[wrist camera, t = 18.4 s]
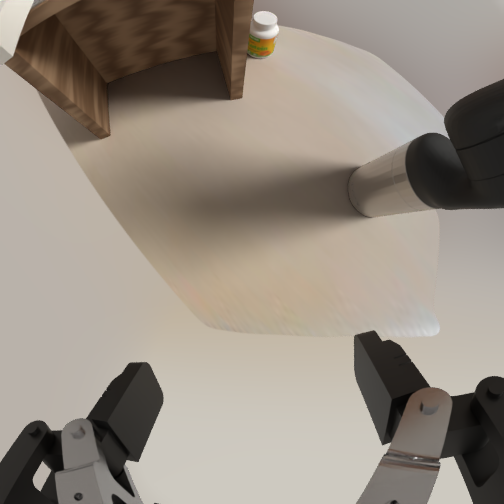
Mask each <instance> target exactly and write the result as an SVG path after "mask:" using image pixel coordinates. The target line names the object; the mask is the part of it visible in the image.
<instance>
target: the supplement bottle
mask: <svg viewBox="0 0 504 504" xmlns="http://www.w3.org/2000/svg"><path fill="white" fill-rule="evenodd" d="M278 32H279V28H278V25H277V17H276V16H275V15H274V14H272V13H270V12H267V11H261V12H257V13H256V14H254V16H253V20H252V21H251V25H250V33H249V42H248V50H247V53H248V54H249V55H250V56H252V57H255V58H267V57H269V56H270V55H271V54H272V53H273V51H274V47H275V43H276V39H277V36H278Z"/></svg>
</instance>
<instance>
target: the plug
mask: <svg viewBox="0 0 504 504" xmlns="http://www.w3.org/2000/svg"><path fill="white" fill-rule="evenodd" d="M33 2H34V0H0V66H1V65H3V64H4V63H5V62H7V61H8V60H9V59H10V58H12V57H13V55H14V52H15V48H16V45H17V42H18V39H19V36H20V34H21V31H22V28H23V25H24V23H25V20H26V18H27V15H28V13H29V11H30V8H31V6H32V4H33Z"/></svg>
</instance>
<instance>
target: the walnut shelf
mask: <svg viewBox="0 0 504 504" xmlns="http://www.w3.org/2000/svg"><path fill="white" fill-rule="evenodd" d="M253 3H254V0H46V1H44V2H42V3H41V4H39V5H38V6H36V7H35V8H33V9H32V10H30V11H29V13H28V15H27V18H26V20H25V23H24V25H23V28H22V31H21V34H20V36H19V39H18V42H17V45H16V48H15V52H14V55H13V57H12V58H10V59H9V60H8V61H7V62H5V63H4V64H6V65H7V66H8V67H9V68H10V69H12V70H13V71H14V72H16V73H17V74H18V75H19V76H21V77H22V78H23V79H25V80H26V81H27V82H28V83H30V84H31V85H32V86H33V87H35V88H36V89H37V90H38V91H40V92H41V93H42V94H44V95H45V96H46V97H47V98H49V99H50V100H51V101H53V102H54V103H55V104H56V105H58V106H59V107H60V108H61V109H63V110H64V111H65V112H67V113H68V114H69V115H70V116H72V117H73V118H74V119H76V120H77V121H78V122H79V123H81V124H82V125H83V126H85V127H86V128H87V129H88V130H90V131H91V132H92V133H94V134H95V135H96V136H97V137H99V138H100V139H103V138H105V137H108V136H110V124H109V111H108V93H107V83H109V82H112V81H114V80H117V79H119V78H122V77H124V76H127V75H130V74H133V73H135V72H138V71H141V70H144V69H147V68H150V67H153V66H157V65H160V64H163V63H167V62H170V61H174V60H178V59H182V58H186V57H190V56H194V55H198V54H203V53H208V52H213V51H217V54H218V57H219V60H220V64H221V67H222V71H223V74H224V78H225V81H226V85H227V88H228V92H229V95H230V99H231V100H234V99H239V98H242V95H243V85H244V76H245V67H246V58H247V50H248V42H249V33H250V25H251V18H252V10H253Z"/></svg>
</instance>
